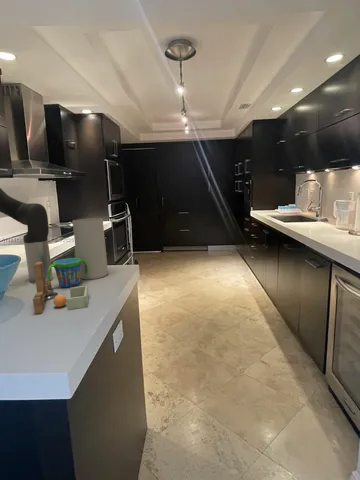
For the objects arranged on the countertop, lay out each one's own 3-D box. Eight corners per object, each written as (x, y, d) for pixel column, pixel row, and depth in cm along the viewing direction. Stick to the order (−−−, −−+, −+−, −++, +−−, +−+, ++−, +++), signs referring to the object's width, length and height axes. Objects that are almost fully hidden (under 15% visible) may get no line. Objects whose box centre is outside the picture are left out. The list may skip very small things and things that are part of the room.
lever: (42, 295, 107) (37, 258, 105) (53, 294, 108) (48, 257, 106) (31, 314, 90) (25, 270, 88) (44, 312, 91) (38, 269, 89)
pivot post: (38, 295, 108) (37, 287, 108) (59, 292, 110) (58, 285, 110) (34, 301, 102) (33, 294, 101) (56, 298, 103) (55, 291, 103)
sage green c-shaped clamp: (71, 297, 104) (70, 287, 104) (88, 294, 106) (87, 285, 105) (67, 309, 93) (66, 299, 92) (87, 307, 94) (85, 296, 94)
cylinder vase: (90, 271, 139) (84, 218, 135) (113, 272, 135) (108, 217, 131) (72, 279, 127) (66, 221, 123) (97, 280, 123) (91, 221, 119)
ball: (55, 305, 97) (53, 293, 97) (68, 303, 98) (66, 292, 98) (53, 309, 94) (51, 297, 93) (66, 307, 95) (65, 295, 94)
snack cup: (85, 278, 128) (83, 255, 126) (93, 283, 119) (90, 259, 117) (46, 286, 119) (43, 261, 118) (51, 292, 110) (48, 266, 109)
